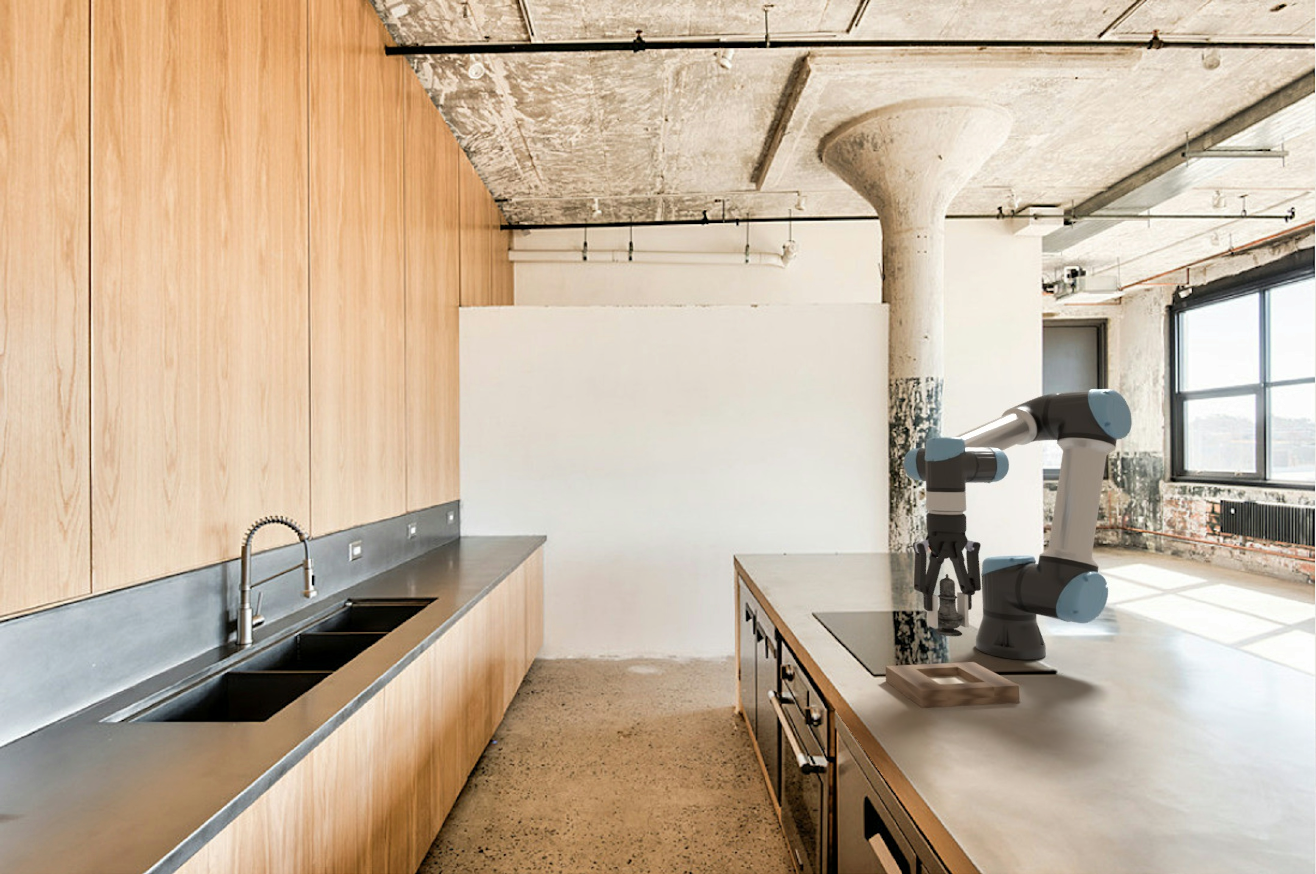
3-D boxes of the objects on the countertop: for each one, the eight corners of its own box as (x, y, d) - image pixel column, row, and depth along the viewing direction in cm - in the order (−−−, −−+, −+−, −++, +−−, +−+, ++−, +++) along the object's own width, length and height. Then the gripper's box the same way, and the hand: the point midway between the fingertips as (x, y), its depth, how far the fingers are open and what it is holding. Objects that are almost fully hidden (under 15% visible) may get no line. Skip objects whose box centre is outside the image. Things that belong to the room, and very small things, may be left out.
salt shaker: (960, 638, 131) (958, 577, 131) (928, 633, 134) (928, 574, 135) (966, 632, 135) (965, 573, 136) (936, 627, 139) (935, 570, 139)
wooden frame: (973, 676, 143) (973, 661, 143) (1019, 702, 128) (1019, 685, 128) (885, 681, 141) (885, 666, 141) (922, 707, 126) (922, 690, 126)
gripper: (977, 510, 140) (980, 620, 140) (893, 511, 138) (895, 623, 137) (1000, 513, 133) (1002, 629, 132) (911, 514, 131) (913, 632, 130)
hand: (947, 626), depth 135 cm, fingers closed on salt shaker, 6 cm apart
